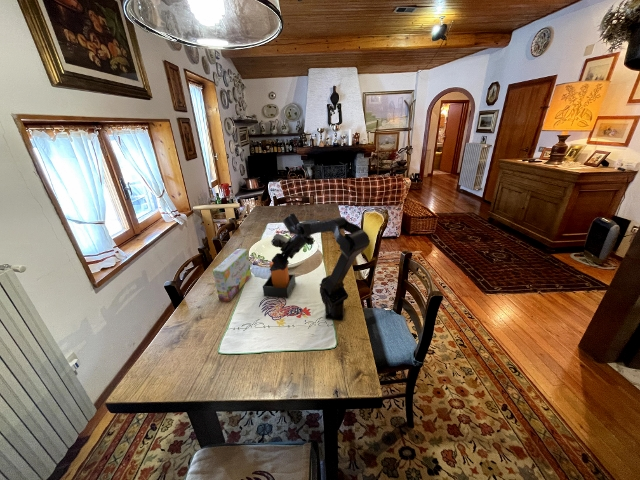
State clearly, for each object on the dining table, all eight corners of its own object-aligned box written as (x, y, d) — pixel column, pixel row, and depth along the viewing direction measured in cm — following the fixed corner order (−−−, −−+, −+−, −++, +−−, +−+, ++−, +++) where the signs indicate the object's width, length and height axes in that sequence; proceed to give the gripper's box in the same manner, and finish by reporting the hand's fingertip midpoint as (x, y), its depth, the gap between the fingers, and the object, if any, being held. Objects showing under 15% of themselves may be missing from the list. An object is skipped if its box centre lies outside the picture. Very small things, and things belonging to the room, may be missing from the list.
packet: (290, 287, 114) (287, 262, 109) (287, 291, 112) (284, 265, 106) (276, 285, 116) (272, 260, 111) (273, 289, 114) (269, 264, 108)
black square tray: (295, 283, 118) (294, 274, 115) (288, 298, 108) (286, 288, 106) (273, 282, 120) (272, 272, 118) (264, 296, 110) (262, 286, 108)
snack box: (230, 302, 107) (223, 271, 101) (218, 300, 108) (211, 270, 102) (252, 275, 126) (247, 248, 120) (242, 274, 127) (236, 247, 121)
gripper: (289, 221, 109) (269, 243, 116) (273, 238, 92) (250, 263, 99) (308, 238, 111) (287, 259, 117) (295, 258, 94) (271, 281, 101)
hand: (274, 264), depth 109 cm, fingers open, 9 cm apart
